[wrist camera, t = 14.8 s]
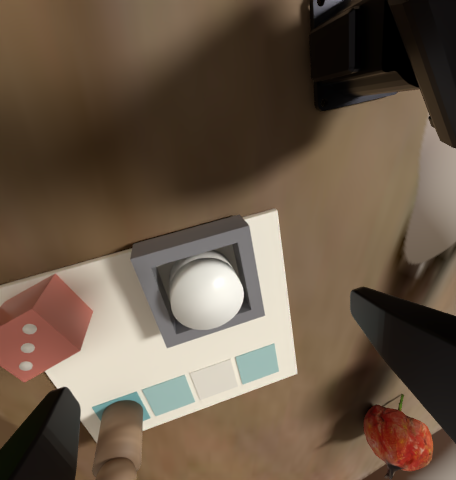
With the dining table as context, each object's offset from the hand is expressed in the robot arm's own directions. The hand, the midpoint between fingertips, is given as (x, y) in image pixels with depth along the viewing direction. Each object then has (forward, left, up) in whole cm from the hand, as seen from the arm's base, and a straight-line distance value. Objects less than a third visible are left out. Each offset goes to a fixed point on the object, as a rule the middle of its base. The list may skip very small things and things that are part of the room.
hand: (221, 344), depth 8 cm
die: (+11, +4, -12) cm, 17 cm away
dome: (0, +5, -12) cm, 13 cm away
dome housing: (0, +5, -12) cm, 13 cm away
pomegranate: (-18, +34, -13) cm, 41 cm away
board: (+3, +11, -13) cm, 17 cm away
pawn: (+10, +17, -12) cm, 23 cm away
